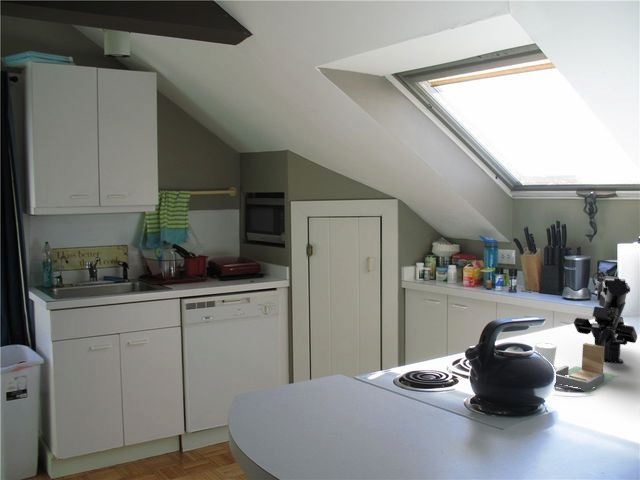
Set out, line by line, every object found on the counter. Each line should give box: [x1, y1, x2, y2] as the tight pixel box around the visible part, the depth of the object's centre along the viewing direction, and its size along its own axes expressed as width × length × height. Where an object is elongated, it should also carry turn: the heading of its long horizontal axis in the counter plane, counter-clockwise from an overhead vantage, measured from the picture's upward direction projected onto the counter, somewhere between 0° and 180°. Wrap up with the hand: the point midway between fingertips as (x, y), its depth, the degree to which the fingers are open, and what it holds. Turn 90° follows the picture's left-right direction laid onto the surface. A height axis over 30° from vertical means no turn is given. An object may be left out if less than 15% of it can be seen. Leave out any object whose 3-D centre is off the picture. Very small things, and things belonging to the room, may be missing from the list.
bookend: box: [569, 342, 605, 381], centre depth 214 cm, size 11×6×9 cm, turn 136°
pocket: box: [554, 365, 604, 392], centre depth 209 cm, size 12×12×2 cm
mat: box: [556, 366, 619, 393], centre depth 213 cm, size 22×14×1 cm, turn 136°
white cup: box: [534, 342, 557, 366], centre depth 226 cm, size 7×7×7 cm
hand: (596, 351), depth 219 cm, fingers closed
